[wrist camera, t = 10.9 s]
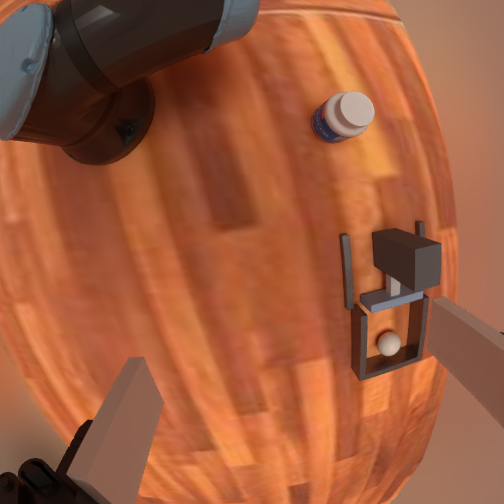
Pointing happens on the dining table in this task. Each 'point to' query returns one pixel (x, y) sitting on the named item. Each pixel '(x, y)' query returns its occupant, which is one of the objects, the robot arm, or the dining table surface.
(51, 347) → the dining table surface
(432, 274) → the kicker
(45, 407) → the dining table surface
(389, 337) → the ball
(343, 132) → the pill bottle
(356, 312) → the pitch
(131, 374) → the robot arm
